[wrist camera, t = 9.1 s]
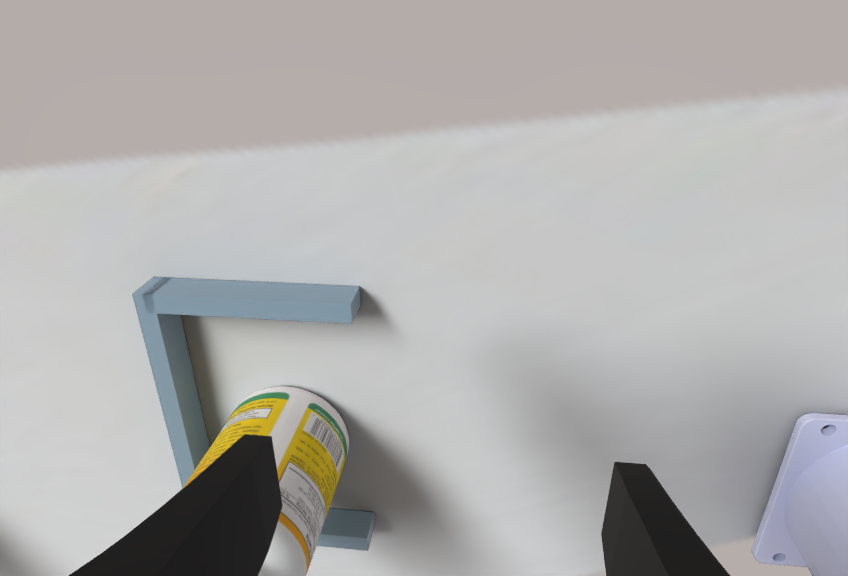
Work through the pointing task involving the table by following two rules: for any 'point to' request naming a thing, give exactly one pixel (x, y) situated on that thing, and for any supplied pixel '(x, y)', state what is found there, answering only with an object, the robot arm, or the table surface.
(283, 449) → the supplement bottle
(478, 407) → the table surface
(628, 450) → the table surface
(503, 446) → the table surface
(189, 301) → the blue-grey u-shaped bracket
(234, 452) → the robot arm
